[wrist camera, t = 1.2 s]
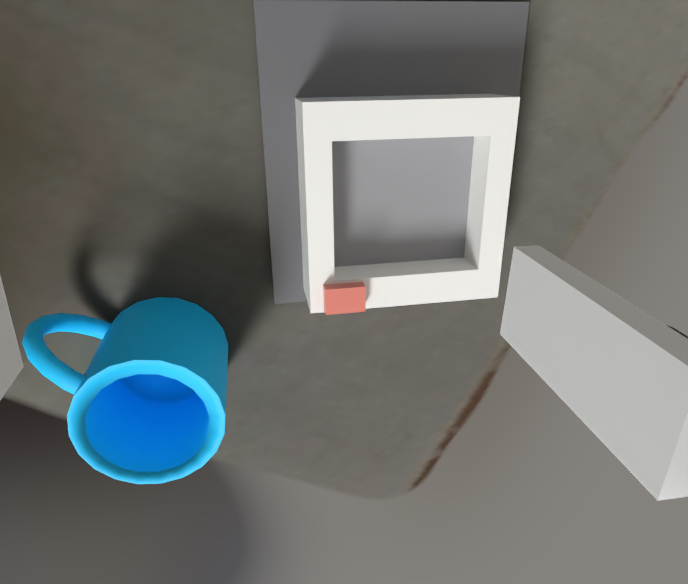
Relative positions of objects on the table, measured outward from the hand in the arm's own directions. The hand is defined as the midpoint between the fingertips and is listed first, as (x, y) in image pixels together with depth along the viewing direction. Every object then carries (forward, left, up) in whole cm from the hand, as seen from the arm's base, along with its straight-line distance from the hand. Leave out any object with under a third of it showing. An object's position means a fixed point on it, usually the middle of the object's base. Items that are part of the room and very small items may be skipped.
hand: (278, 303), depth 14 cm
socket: (0, +8, -20) cm, 22 cm away
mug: (+11, -9, -21) cm, 25 cm away
